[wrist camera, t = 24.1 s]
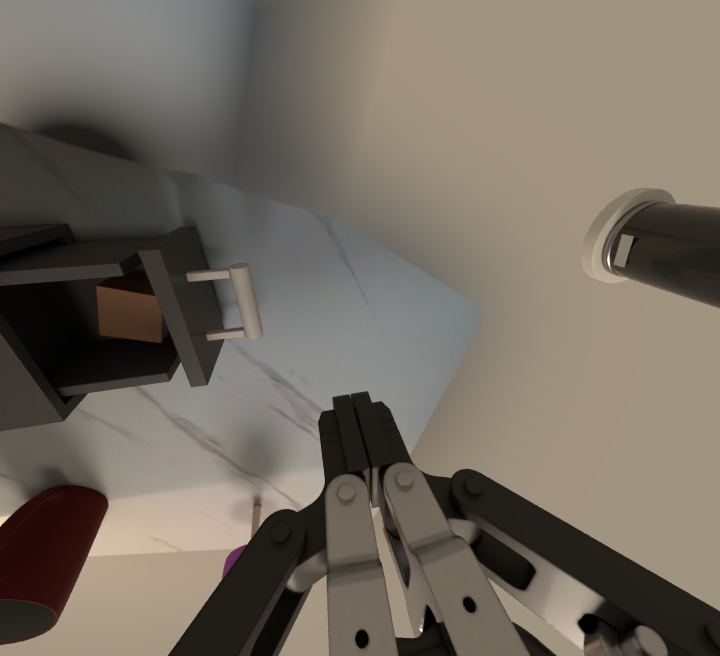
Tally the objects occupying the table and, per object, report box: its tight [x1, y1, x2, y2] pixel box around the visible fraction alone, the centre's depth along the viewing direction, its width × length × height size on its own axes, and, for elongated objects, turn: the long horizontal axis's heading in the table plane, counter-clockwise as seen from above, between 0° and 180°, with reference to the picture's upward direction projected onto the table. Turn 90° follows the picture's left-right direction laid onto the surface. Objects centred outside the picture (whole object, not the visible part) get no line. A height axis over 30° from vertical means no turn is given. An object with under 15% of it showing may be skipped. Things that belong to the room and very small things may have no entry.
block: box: [96, 270, 169, 343], centre depth 23 cm, size 4×4×4 cm
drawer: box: [0, 226, 263, 397], centre depth 22 cm, size 17×10×8 cm, turn 91°
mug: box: [0, 486, 108, 645], centre depth 31 cm, size 12×9×11 cm
